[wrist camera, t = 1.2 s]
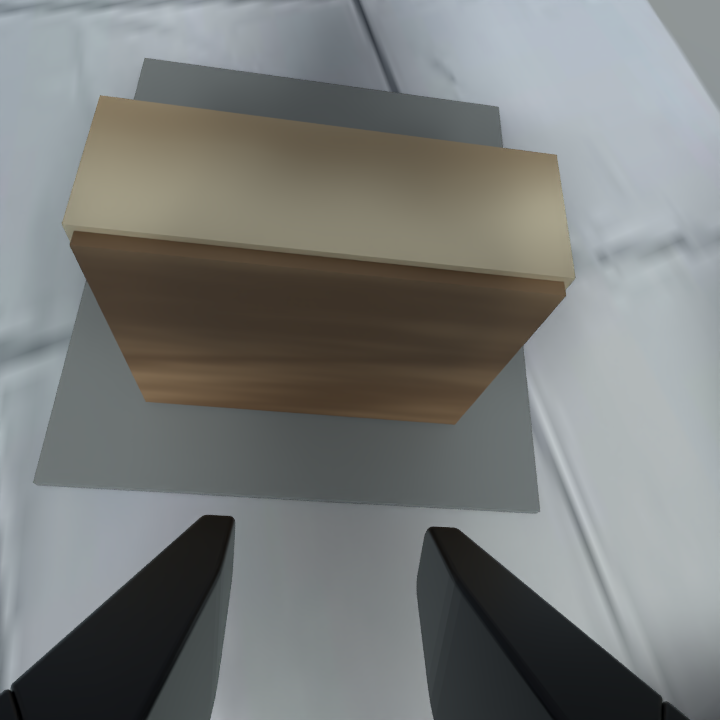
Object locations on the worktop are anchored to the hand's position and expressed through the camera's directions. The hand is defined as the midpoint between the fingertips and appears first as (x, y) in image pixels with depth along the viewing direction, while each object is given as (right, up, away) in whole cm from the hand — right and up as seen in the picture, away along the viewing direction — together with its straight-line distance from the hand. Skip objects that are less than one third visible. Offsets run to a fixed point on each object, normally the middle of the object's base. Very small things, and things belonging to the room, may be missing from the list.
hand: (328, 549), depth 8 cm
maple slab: (-2, +3, +16) cm, 16 cm away
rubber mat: (-2, +7, +18) cm, 20 cm away
